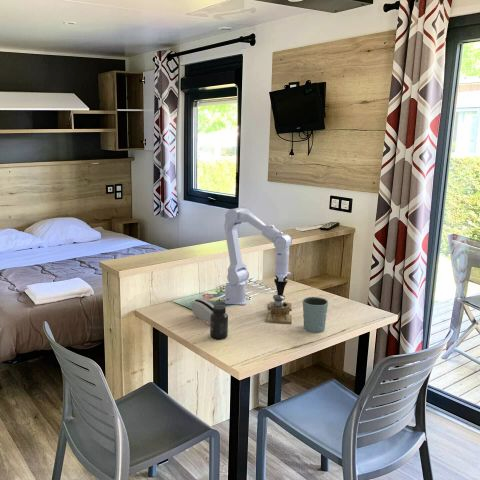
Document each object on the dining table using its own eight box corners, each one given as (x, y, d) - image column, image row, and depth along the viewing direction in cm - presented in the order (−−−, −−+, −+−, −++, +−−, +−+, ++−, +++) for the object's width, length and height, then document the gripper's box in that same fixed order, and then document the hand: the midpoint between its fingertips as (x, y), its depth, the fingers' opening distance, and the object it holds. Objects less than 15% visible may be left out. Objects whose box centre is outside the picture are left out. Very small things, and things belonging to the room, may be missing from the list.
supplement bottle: (207, 334, 191) (207, 305, 188) (222, 331, 194) (223, 303, 191) (214, 341, 185) (215, 311, 182) (230, 338, 188) (231, 308, 186)
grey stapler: (225, 324, 201) (219, 304, 197) (217, 330, 199) (210, 310, 195) (202, 312, 214) (196, 293, 210) (194, 317, 212) (187, 298, 208)
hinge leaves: (267, 322, 205) (267, 313, 204) (269, 303, 227) (270, 295, 226) (291, 323, 204) (291, 314, 203) (291, 305, 226) (291, 296, 225)
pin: (272, 315, 213) (273, 298, 211) (272, 310, 218) (273, 294, 216) (284, 315, 213) (285, 298, 211) (284, 311, 218) (285, 294, 216)
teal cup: (331, 331, 198) (333, 303, 195) (310, 335, 193) (312, 306, 190) (316, 322, 206) (318, 295, 204) (296, 326, 202) (297, 298, 199)
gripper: (291, 267, 204) (289, 298, 207) (291, 258, 218) (289, 287, 221) (274, 266, 204) (272, 297, 207) (275, 257, 219) (274, 286, 222)
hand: (280, 292), depth 214 cm, fingers open, 7 cm apart
